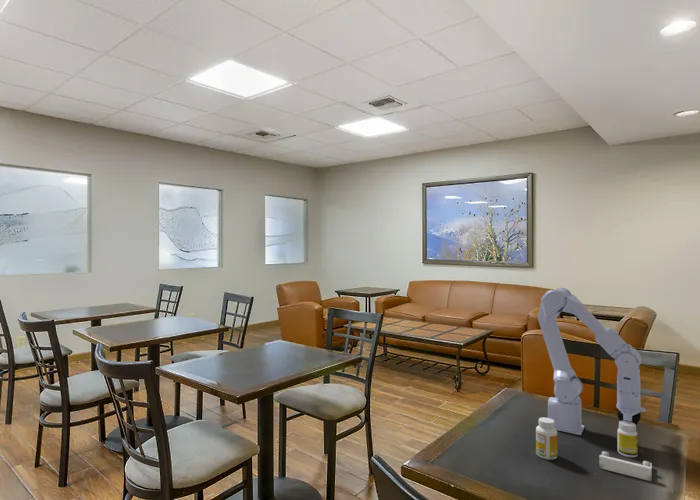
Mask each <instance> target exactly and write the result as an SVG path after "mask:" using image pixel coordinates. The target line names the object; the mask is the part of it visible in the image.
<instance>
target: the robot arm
mask: <svg viewBox="0 0 700 500" xmlns="http://www.w3.org/2000/svg"><path fill="white" fill-rule="evenodd" d="M561 312H564V313H567V314H573V315H574V316H575V317H576V318H578V319H579V321H581V322H582V323H583V324H584V325H585V326H586V327H587V328H588V329H589V330H590V331H591V332H593V334H594V340H595V342H597V344H598V345H599V346H600V347H602V348H603V350H604V351H605V352H606V353H607V354H608V355H609V356H610V357H611V358H613V359H614V363H615V366H616V368H617V373H616V402H617V403H616V405H615V407H616V408H617V409H618V410H617V412H616V416H617V418H618V420H619V421H629V422H632V423H634V424H636V427H637V426H638V423H639V422H640V421H641V416H642V413H646V407H642V406H641V400H642V399H641V376H640V375H641V369H640V365H641V363H642V356H641V354H640V353H639V351H638V350H637V348H636V349H635V348H634V347H633V346H632V345H631V344H629V343H627V342H626V341H625V340H624V339H623V338H622V337H621V336H620V335H619V333H620V332H619V331H618V330H617V329H616V330H614V329H612V327H606V326H604V325H603V324H602V323H601V322H600V321H599V320H598V319H597V317H595V316H594V314H592V312H590V310H589V309H588V308H587V307H586V306H585V305H584V304H583V303H582V301H581V300H580V299H579V298H578V297H577V296H575V295H574V294H572V293H571V291H570V290H569V289H568V288H565V287H557V288H555V289H550V290H547V291H546V292H544V294H543V296H542V297H541V298H540V305H539V308H538V312H537V321H538V324H539V326H540V330H541V334H542V336H543V339H544V342H545V346H546V349H547V353H548V355H549V359H550V362H551V365H552V368H553V382H554V386H553V394H554V397H553V396H549V398H548V401H547V418H550V419H553V420H554V421H555V426H554V428H555V429H556V430H557V431H559V432H564V433H568V434H573V435H578V436H582V433H583V431H584V429H585V425H584V424H582V399H581V397H580V394H582V392H583V389H584V386H583V383H582V381H581V380H580V378H578V376H577V374H576V371H575V370H574V369H573V368H572V365H571V363H570V360H569V356H568V353H567V350H566V347H565V344H564V340H563V336H562V333H561V332H560V328H559V324H558V321H557V318H558V316H559V315H560V314H561Z"/></svg>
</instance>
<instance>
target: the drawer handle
mask: <svg viewBox="0 0 700 500" xmlns="http://www.w3.org/2000/svg"><path fill="white" fill-rule="evenodd" d="M598 459H599V463H598V464H599V466H598V468H599V469H602V470H606V471H610V472H614V473H618V474H621V475H625V476H629V477H633V478H637V479H641V480H645V481H648V482H652V473H653V472H652V469H653V468H652V467H653V465H652V464H653V463H652V462H650V461H648V460H643V461H642V464H640V463H637V462H631V461H628V460H624V459H620V458H616V457H612V456H611V457H610V453H609V451H606V450H605V451H604V450H602V451H601V454H599V457H598Z"/></svg>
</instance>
